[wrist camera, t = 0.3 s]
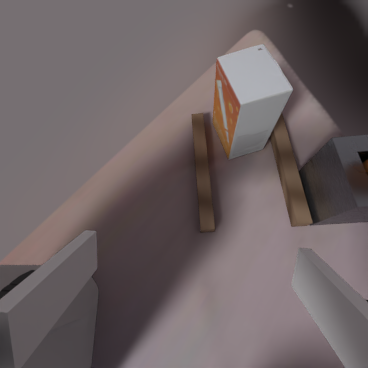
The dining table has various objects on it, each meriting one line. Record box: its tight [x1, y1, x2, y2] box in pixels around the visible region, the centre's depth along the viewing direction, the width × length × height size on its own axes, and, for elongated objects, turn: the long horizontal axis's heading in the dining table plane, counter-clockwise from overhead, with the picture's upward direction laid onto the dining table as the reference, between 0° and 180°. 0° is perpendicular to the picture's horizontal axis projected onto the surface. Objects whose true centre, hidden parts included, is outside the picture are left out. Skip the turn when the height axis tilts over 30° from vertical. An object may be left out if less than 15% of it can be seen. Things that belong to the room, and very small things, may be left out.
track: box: [192, 113, 313, 232], centre depth 33 cm, size 20×15×2 cm
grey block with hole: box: [299, 135, 368, 225], centre depth 26 cm, size 8×8×10 cm
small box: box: [213, 44, 293, 160], centre depth 30 cm, size 8×6×13 cm
